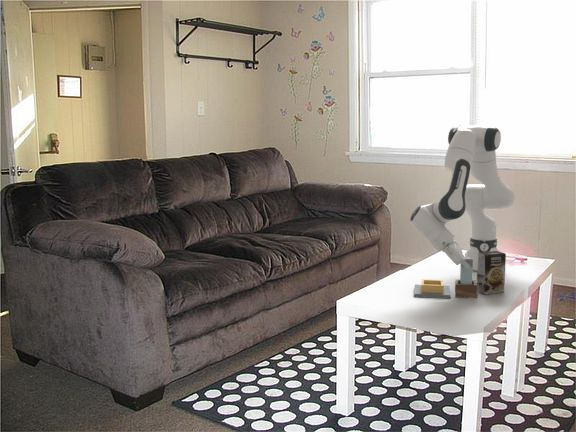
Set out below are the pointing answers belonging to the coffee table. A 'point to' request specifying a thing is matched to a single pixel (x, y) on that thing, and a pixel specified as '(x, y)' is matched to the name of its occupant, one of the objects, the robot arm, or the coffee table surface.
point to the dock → (432, 289)
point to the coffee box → (491, 272)
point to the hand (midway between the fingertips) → (468, 265)
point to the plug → (466, 272)
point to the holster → (466, 289)
